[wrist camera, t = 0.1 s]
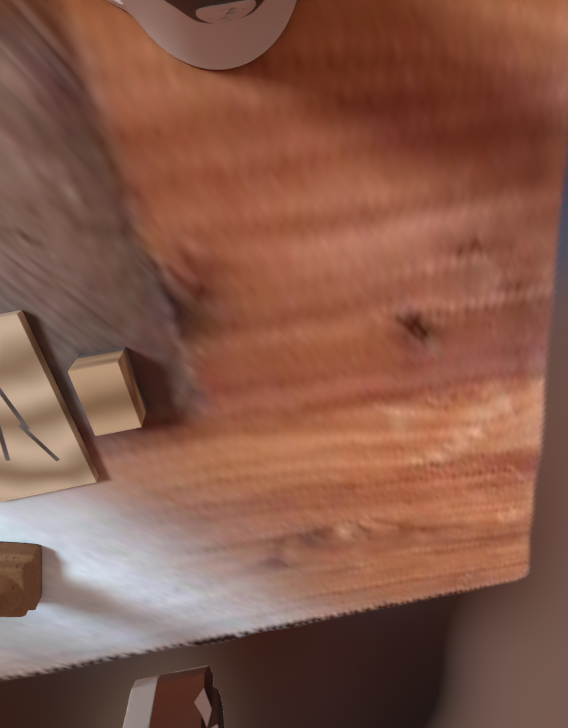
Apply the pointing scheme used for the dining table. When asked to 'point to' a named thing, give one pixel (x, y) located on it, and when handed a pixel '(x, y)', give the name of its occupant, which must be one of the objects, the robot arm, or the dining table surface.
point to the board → (35, 421)
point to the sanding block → (108, 391)
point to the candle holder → (19, 578)
